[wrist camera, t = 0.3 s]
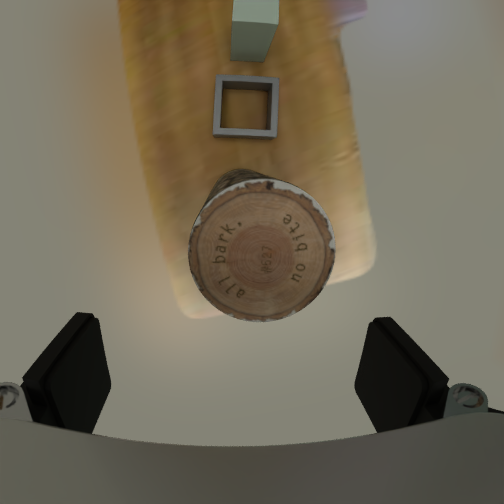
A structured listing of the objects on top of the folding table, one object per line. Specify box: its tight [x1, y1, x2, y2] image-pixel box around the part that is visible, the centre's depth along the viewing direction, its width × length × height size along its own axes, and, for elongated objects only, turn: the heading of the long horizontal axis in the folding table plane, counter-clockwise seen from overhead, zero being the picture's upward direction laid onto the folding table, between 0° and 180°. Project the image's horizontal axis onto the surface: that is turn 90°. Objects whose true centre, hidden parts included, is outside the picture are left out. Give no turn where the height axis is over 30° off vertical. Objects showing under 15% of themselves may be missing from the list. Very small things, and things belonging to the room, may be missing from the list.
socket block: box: [213, 75, 279, 140], centre depth 34 cm, size 7×7×4 cm
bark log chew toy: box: [188, 169, 335, 322], centre depth 27 cm, size 7×7×25 cm
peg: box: [230, 0, 279, 62], centre depth 28 cm, size 4×4×12 cm
